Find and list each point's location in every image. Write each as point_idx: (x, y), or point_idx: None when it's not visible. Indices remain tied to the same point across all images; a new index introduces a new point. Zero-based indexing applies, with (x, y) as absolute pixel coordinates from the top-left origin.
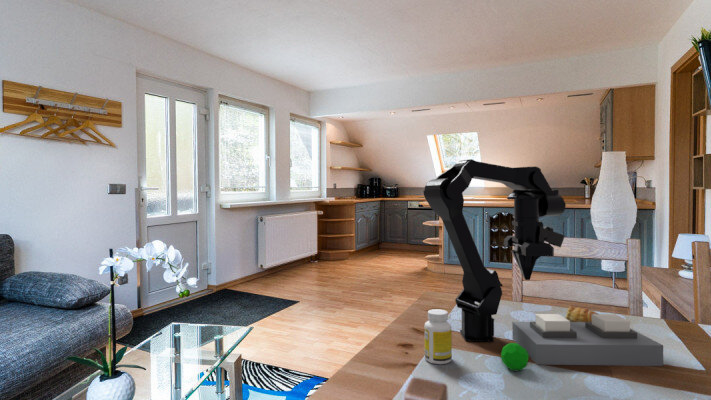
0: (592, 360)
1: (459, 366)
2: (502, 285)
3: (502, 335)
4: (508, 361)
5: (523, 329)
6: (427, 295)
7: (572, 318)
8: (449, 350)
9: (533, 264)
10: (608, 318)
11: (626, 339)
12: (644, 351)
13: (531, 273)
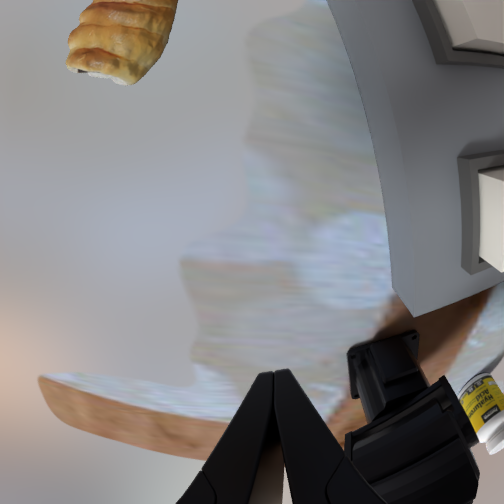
0: None
1: (498, 358)
2: (459, 439)
3: (364, 312)
4: None
5: (477, 286)
6: (81, 429)
7: (149, 59)
8: (496, 385)
9: (369, 491)
10: (501, 14)
11: None
12: None
13: (312, 407)
